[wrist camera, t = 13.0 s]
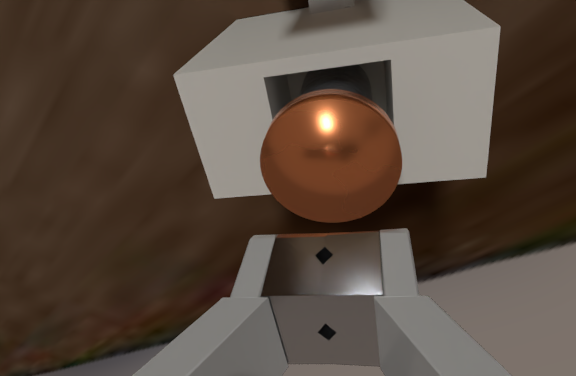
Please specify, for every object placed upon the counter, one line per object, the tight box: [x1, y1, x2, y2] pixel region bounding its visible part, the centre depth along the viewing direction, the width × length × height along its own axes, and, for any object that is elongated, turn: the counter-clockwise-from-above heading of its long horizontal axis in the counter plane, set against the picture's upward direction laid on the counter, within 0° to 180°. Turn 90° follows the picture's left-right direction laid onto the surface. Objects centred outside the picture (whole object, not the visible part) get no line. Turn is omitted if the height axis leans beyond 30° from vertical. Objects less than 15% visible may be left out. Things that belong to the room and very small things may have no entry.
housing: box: [173, 0, 500, 199], centre depth 17 cm, size 10×5×9 cm, turn 100°
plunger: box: [260, 64, 402, 223], centre depth 14 cm, size 4×4×6 cm
